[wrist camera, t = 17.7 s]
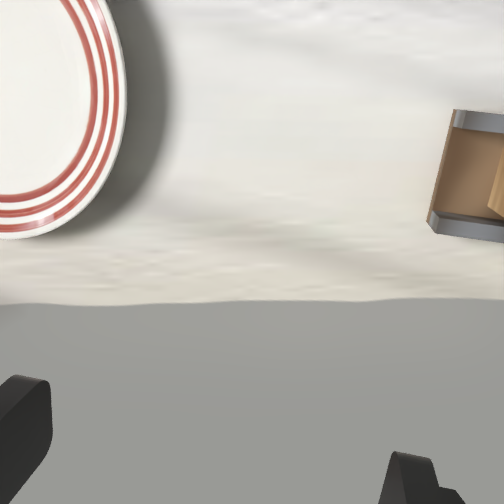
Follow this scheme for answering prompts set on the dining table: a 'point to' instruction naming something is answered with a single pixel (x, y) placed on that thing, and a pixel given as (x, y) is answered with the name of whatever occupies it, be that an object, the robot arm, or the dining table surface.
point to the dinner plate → (57, 110)
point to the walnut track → (469, 178)
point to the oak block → (498, 189)
